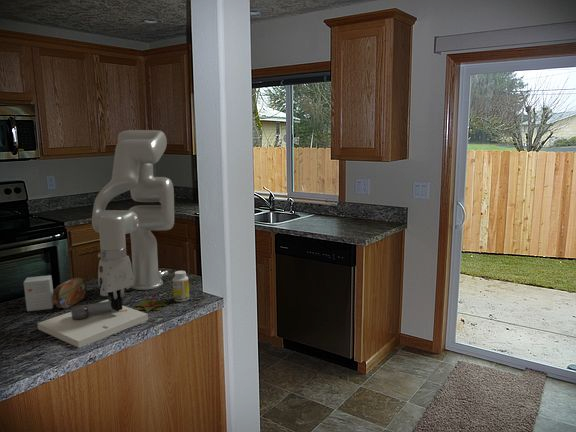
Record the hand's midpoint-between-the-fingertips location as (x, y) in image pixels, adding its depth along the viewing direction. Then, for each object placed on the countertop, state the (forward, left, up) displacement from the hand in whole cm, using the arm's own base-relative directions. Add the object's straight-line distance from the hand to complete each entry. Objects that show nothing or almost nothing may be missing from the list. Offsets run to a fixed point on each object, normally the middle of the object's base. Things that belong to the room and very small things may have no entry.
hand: (117, 309), depth 151 cm
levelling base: (+6, -3, -4) cm, 8 cm away
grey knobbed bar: (+4, -5, -1) cm, 7 cm away
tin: (0, -26, -4) cm, 27 cm away
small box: (+8, -31, -4) cm, 33 cm away
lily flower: (-14, -1, -4) cm, 15 cm away
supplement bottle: (-25, +3, -4) cm, 25 cm away
